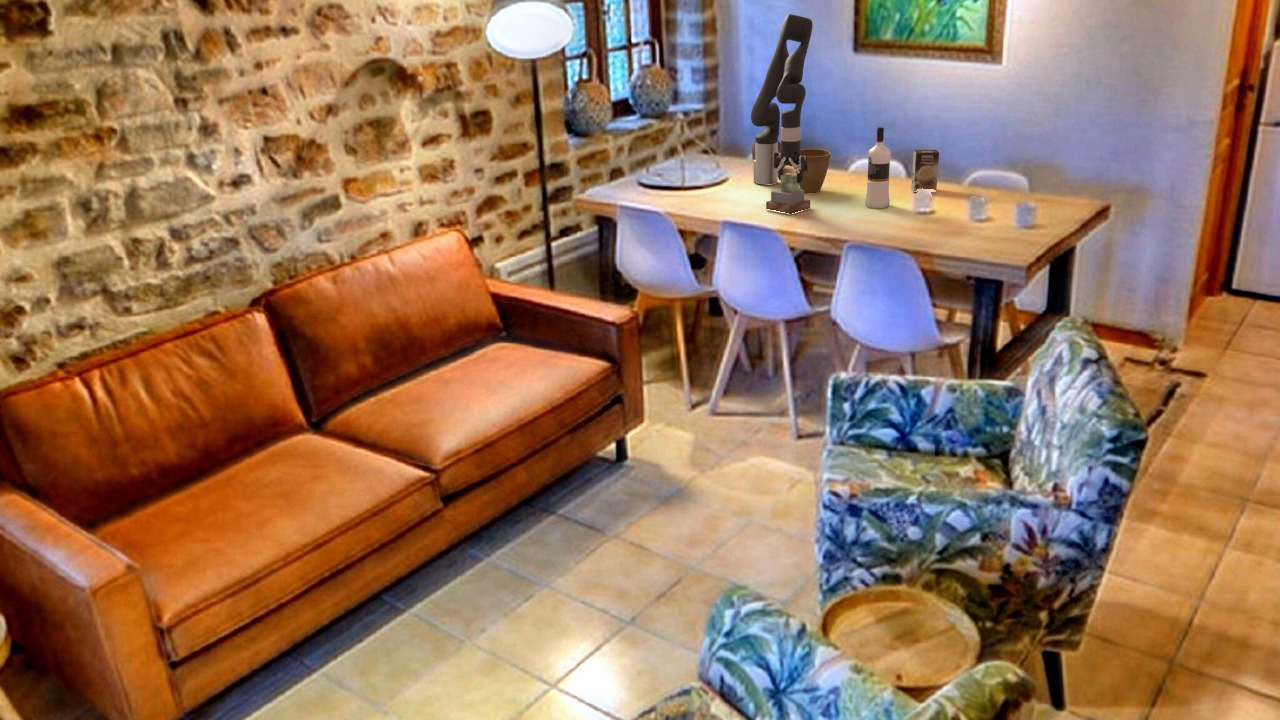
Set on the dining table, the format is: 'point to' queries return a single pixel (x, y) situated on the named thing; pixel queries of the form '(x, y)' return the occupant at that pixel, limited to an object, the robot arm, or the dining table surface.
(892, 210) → the dining table surface
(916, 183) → the coffee box
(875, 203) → the vodka
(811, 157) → the plant pot
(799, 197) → the tower upper block
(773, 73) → the robot arm
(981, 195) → the dining table surface
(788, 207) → the tower lower block
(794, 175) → the sage block
